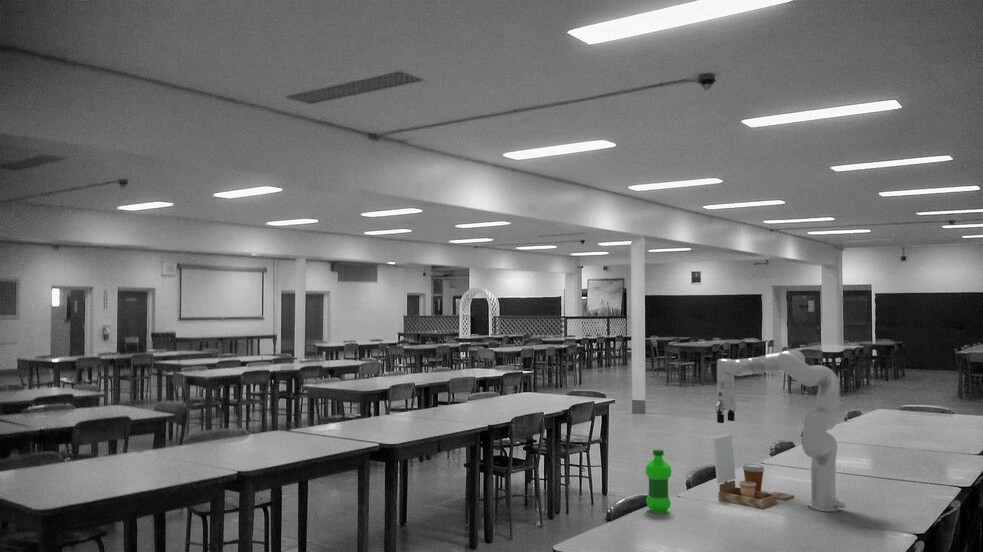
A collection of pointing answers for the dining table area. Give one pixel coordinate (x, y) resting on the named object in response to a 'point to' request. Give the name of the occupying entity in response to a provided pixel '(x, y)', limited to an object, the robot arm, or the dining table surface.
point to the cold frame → (734, 496)
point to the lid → (724, 458)
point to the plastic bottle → (658, 483)
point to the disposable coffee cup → (754, 474)
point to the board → (783, 496)
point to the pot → (747, 489)
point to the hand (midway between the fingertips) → (725, 421)
